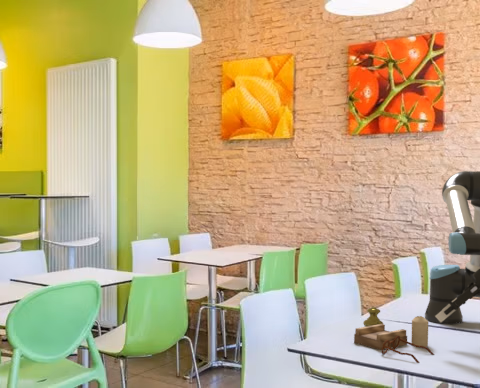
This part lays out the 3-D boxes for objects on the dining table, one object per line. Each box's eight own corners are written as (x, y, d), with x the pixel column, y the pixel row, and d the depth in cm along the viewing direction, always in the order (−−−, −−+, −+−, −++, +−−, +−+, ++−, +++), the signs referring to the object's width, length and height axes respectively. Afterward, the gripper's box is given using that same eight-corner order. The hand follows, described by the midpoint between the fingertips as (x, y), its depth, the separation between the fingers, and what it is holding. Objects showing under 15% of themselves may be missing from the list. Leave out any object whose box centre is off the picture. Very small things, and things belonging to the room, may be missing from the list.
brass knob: (359, 333, 218) (359, 306, 218) (371, 330, 223) (371, 304, 223) (375, 337, 213) (376, 310, 213) (387, 334, 217) (387, 307, 217)
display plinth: (380, 337, 213) (380, 323, 213) (407, 344, 203) (407, 330, 203) (354, 342, 204) (354, 328, 204) (381, 350, 195) (381, 335, 195)
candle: (428, 347, 199) (429, 318, 199) (412, 346, 200) (412, 317, 200) (426, 343, 205) (427, 315, 205) (410, 342, 206) (411, 314, 206)
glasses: (397, 348, 199) (397, 334, 199) (434, 356, 191) (435, 341, 191) (380, 356, 189) (380, 341, 189) (419, 364, 181) (419, 348, 181)
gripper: (494, 289, 179) (443, 331, 186) (501, 279, 200) (455, 318, 208) (476, 270, 181) (426, 313, 188) (485, 263, 203) (440, 301, 210)
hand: (441, 315), depth 198 cm, fingers open, 13 cm apart
